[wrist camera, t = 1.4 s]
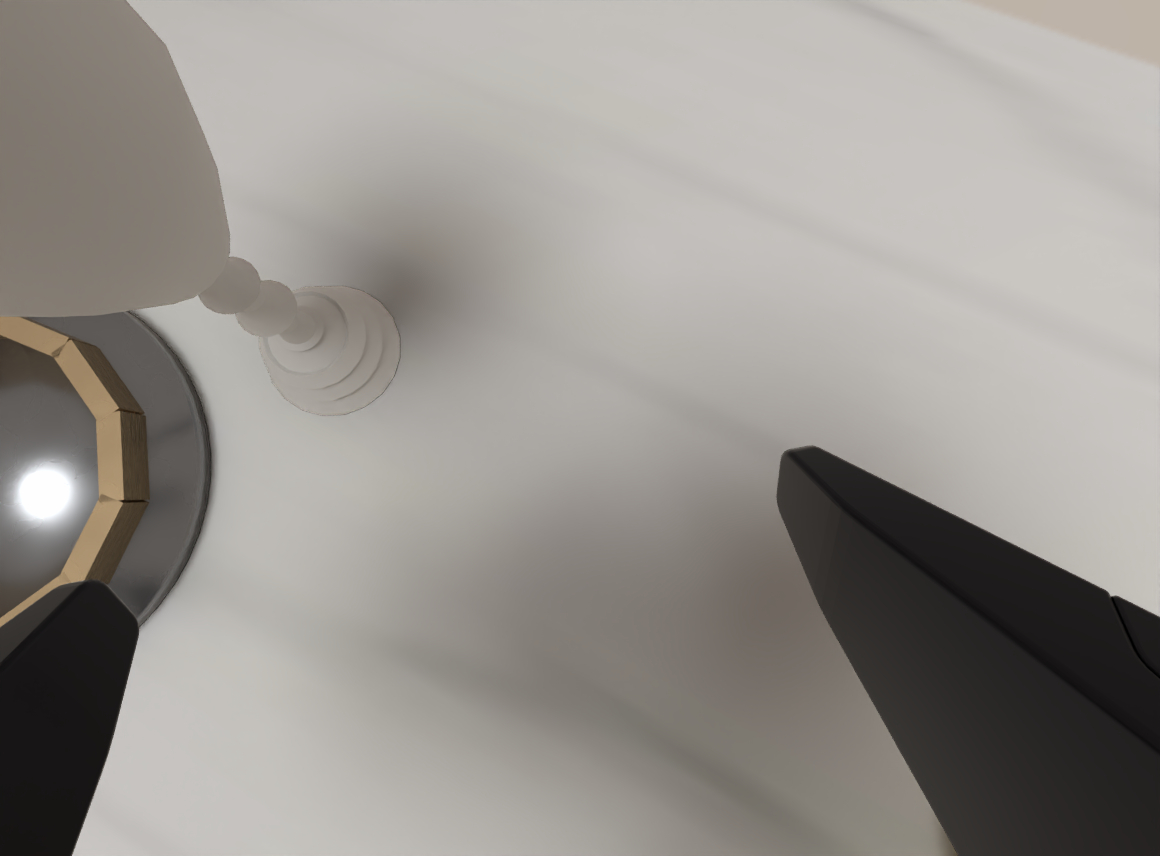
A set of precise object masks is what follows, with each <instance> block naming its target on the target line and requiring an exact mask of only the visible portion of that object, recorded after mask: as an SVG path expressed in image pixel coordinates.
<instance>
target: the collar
mask: <svg viewBox="0 0 1160 856" xmlns="http://www.w3.org/2000/svg"><path fill="white" fill-rule="evenodd" d="M209 485H210V446H209V438H208V430H207V425H206V421H205V418H204V414H203V410H202V407H201V403H200V400H199V398H198V396H197V393H196V391H195V389H194V386H193V384H192V382H191V379H190V378H189V376H188V374H187V373H186V371H185V370H184V368H183V366H182V365H181V363H180V361H179V360H178V358H177V357H176V356H175V354H174V353H173V352H172V351H171V350H170V348H169V347H168V346H167V345H166V343H165V342H164V341H163V340H162V339H161V338H160V337H159V336H158V335H157V334H156V333H155V332H154V331H153V330H151V329H150V328H149V327H148V326H147V325H146V324H145V323H144V322H142V321H141V320H139V319H138V318H137V317H135V316H134V315H132V314H131V313H129V312H128V311H124V312H117V313H110V314H104V315H95V316H69V317H4V316H0V627H1V626H2V625H4V624H5V623H7V622H8V621H9V620H11V619H12V618H13V617H15V616H16V615H18V614H19V613H20V612H22V611H23V610H25V609H26V608H27V607H29V606H30V605H32V604H33V603H34V602H36V601H37V600H39V599H40V598H41V597H43V596H44V595H46V594H47V593H48V592H50V591H51V590H53V589H54V588H56V587H58V586H60V585H64V584H67V583H73V582H78V581H83V580H89V579H97V580H100V581H102V582H104V583H105V584H107V585H108V586H109V587H110V589H111V590H112V591H113V592H114V593H115V594H116V595H117V596H118V597H119V598H120V600H121V601H122V602H123V603H124V604H125V605H126V606H127V607H128V608H129V609H130V611H131V612H132V613H133V614H134V615H135V617H136V618H137V621H138V624H139V626H140V625H141V624H142V623H143V622H144V621H145V620H146V619H147V618H148V617H149V616H150V615H151V614H152V613H153V612H154V610H155V609H156V608H157V607H158V606H159V604H160V603H161V602H162V600H163V599H164V598H165V596H166V595H167V594H168V592H169V591H170V589H171V588H172V587H173V585H174V584H175V582H176V580H177V579H178V577H179V575H180V573H181V572H182V570H183V568H184V566H185V564H186V563H187V561H188V559H189V557H190V554H191V552H192V549H193V547H194V545H195V542H196V540H197V537H198V535H199V532H200V529H201V525H202V521H203V517H204V514H205V510H206V506H207V499H208V492H209Z"/></svg>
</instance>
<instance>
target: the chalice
mask: <svg viewBox="0 0 1160 856" xmlns="http://www.w3.org/2000/svg"><path fill="white" fill-rule="evenodd" d="M229 254H230V232H229V226H228V221H227V216H226V211H225V206H224V200H223V195H222V190H221V185H220V179H219V174H218V169H217V166H216V164H215V161H214V159H213V156H212V153H211V151H210V148H209V146H208V143H207V141H206V138H205V135H204V133H203V131H202V128H201V126H200V124H199V121H198V119H197V117H196V114H195V112H194V110H193V107H192V105H191V103H190V100H189V98H188V96H187V93H186V91H185V88H184V86H183V84H182V81H181V79H180V77H179V74H178V72H177V70H176V67H175V65H174V63H173V60H172V58H171V56H170V53H169V51H168V49H167V46H166V45H165V44H164V42H163V41H162V40H161V39H160V38H159V37H158V36H157V35H156V33H155V32H154V31H153V30H152V29H151V28H150V27H149V26H148V25H147V23H146V22H145V21H144V20H143V19H142V18H141V17H140V16H139V14H138V13H137V12H136V11H135V10H134V9H133V8H132V7H131V6H130V4H129V3H128V2H127V1H126V0H0V316H4V317H69V316H95V315H104V314H110V313H117V312H124V311H130V310H137V309H143V308H150V307H157V306H163V305H170V304H175V303H178V302H181V301H184V300H187V299H191V298H194V297H195V296H197V295H199V298H200V300H201V301H202V303H203V304H204V305H205V306H206V307H207V308H209V309H210V310H212V311H214V312H217V313H221V314H234V313H235V315H236V318H237V320H238V323H239V324H240V325H241V327H242V328H243V329H244V330H245V331H247V332H249V333H250V334H252V335H255V336H259V349H260V352H261V355H262V358H263V361H264V363H265V365H266V367H267V370H268V373H269V374H270V377H271V380H272V383H273V384H274V386H275V387H276V388H277V389H278V391H279V392H280V393H281V394H282V396H283V397H284V398H285V399H286V400H287V401H289V402H290V403H292V404H294V405H295V406H297V407H298V408H300V409H301V410H303V411H307V412H311V413H315V414H319V415H322V416H326V415H345V414H347V413H350V412H353V411H355V410H358V409H361V408H363V407H365V406H367V405H368V404H369V403H371V402H372V401H373V400H375V399H376V398H377V397H378V396H380V395H381V394H382V393H383V392H384V390H385V389H386V387H387V386H388V384H389V383H390V382H391V380H392V379H393V377H394V375H395V372H396V369H397V365H398V362H399V359H400V336H399V333H398V330H397V328H396V325H395V322H394V320H393V317H392V316H391V315H390V314H389V312H388V311H387V310H386V309H385V307H384V306H383V305H382V304H381V303H380V302H379V301H378V300H376V299H375V298H373V297H371V296H370V295H368V294H367V293H365V292H364V291H360V290H357V289H353V288H349V287H345V286H327V287H321V286H317V287H303V288H300V289H297V290H295V291H292V292H291V290H290V289H289V288H288V287H287V286H285V285H283V284H282V283H280V282H276V281H272V280H267V281H260V277H259V275H258V272H257V270H256V269H255V268H254V267H253V265H252V264H250V263H249V262H247V261H245V260H244V259H241V258H237V257H228V256H229Z"/></svg>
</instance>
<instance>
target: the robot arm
mask: <svg viewBox="0 0 1160 856" xmlns="http://www.w3.org/2000/svg"><path fill="white" fill-rule="evenodd" d="M777 504H778V508H779V512H780V514H781V517H782V519H783V521H784V524H785V526H786V528H787V531H788V533H789V536H790V538H791V540H792V543H793V545H794V547H795V550H796V552H797V555H798V557H799V559H800V562H801V564H802V566H803V569H804V571H805V574H806V576H807V578H808V581H809V583H810V585H811V588H812V590H813V593H814V595H815V597H816V599H817V601H818V604H819V606H820V608H821V610H822V612H823V614H824V616H825V618H826V620H827V621H828V623H829V625H830V627H831V629H832V631H833V632H834V634H835V636H836V638H837V640H838V641H839V643H840V645H841V647H842V648H843V650H844V652H845V654H846V656H847V657H848V659H849V661H850V663H851V665H852V666H853V668H854V670H855V672H856V673H857V675H858V677H859V679H860V681H861V682H862V684H863V686H864V688H865V690H866V691H867V693H868V695H869V697H870V699H871V700H872V702H873V704H874V706H875V707H876V709H877V711H878V713H879V715H880V716H881V718H882V720H883V722H884V724H885V725H886V727H887V729H888V731H889V732H890V734H891V736H892V738H893V740H894V741H895V743H896V745H897V747H898V749H899V750H900V752H901V754H902V756H903V757H904V759H905V761H906V763H907V765H908V766H909V768H910V770H911V772H912V774H913V775H914V777H915V779H916V781H917V783H918V784H919V786H920V788H921V790H922V791H923V793H924V795H925V797H926V799H927V800H928V802H929V804H930V806H931V808H932V809H933V811H934V813H935V815H936V816H937V818H938V820H939V822H940V824H941V825H942V827H943V829H944V831H945V833H946V834H947V836H948V838H949V840H950V841H951V843H952V845H953V847H954V849H955V850H956V852H957V854H958V856H1160V617H1159V616H1157V615H1155V614H1153V613H1151V612H1149V611H1147V610H1145V609H1143V608H1141V607H1139V606H1137V605H1135V604H1133V603H1131V602H1129V601H1127V600H1125V599H1123V598H1121V597H1119V596H1110V594H1109V593H1108V592H1107V591H1106V590H1104V589H1102V588H1100V587H1098V586H1096V585H1094V584H1092V583H1090V582H1088V581H1086V580H1084V579H1082V578H1080V577H1078V576H1076V575H1074V574H1072V573H1070V572H1068V571H1066V570H1064V569H1062V568H1060V567H1058V566H1056V565H1054V564H1052V563H1050V562H1048V561H1046V560H1044V559H1042V558H1040V557H1038V556H1036V555H1034V554H1032V553H1030V552H1028V551H1026V550H1024V549H1022V548H1020V547H1018V546H1016V545H1014V544H1012V543H1010V542H1008V541H1006V540H1004V539H1002V538H1000V537H998V536H996V535H994V534H992V533H990V532H988V531H986V530H984V529H982V528H980V527H978V526H976V525H974V524H972V523H970V522H968V521H966V520H964V519H962V518H960V517H958V516H956V515H954V514H952V513H950V512H948V511H946V510H943V509H941V508H939V507H937V506H935V505H933V504H931V503H929V502H927V501H925V500H923V499H921V498H919V497H917V496H915V495H913V494H911V493H909V492H907V491H905V490H903V489H901V488H899V487H897V486H895V485H893V484H891V483H889V482H887V481H885V480H883V479H881V478H879V477H877V476H875V475H873V474H871V473H869V472H867V471H865V470H863V469H861V468H859V467H857V466H855V465H853V464H851V463H849V462H847V461H845V460H843V459H841V458H839V457H837V456H835V455H833V454H831V453H829V452H827V451H825V450H823V449H821V448H819V447H816V446H805V447H799V448H794V449H789V450H786V451H785V452H784V453H783V455H782V457H781V461H780V470H779V478H778V487H777ZM138 636H139V624H138V621H137V618H136V617H135V615H134V614H133V613H132V612H131V611H130V609H129V608H128V607H127V606H126V605H125V604H124V603H123V602H122V601H121V600H120V598H119V597H118V596H117V595H116V594H115V593H114V592H113V591H112V590H111V589H110V587H109V586H108V585H107V584H105V583H104V582H102V581H100V580H97V579H89V580H83V581H78V582H73V583H67V584H64V585H60V586H58V587H56V588H54V589H53V590H51V591H50V592H48V593H47V594H46V595H44V596H43V597H41V598H40V599H39V600H37V601H36V602H34V603H33V604H32V605H30V606H29V607H27V608H26V609H25V610H23V611H22V612H20V613H19V614H18V615H16V616H15V617H13V618H12V619H11V620H9V621H8V622H7V623H5V624H4V625H2V626H1V627H0V856H72V854H73V852H74V849H75V846H76V843H77V841H78V838H79V835H80V832H81V829H82V827H83V824H84V821H85V818H86V816H87V813H88V810H89V807H90V805H91V802H92V799H93V796H94V793H95V791H96V788H97V785H98V782H99V780H100V777H101V774H102V771H103V768H104V765H105V762H106V759H107V756H108V753H109V750H110V746H111V743H112V739H113V735H114V732H115V728H116V724H117V720H118V716H119V712H120V708H121V704H122V700H123V696H124V692H125V688H126V684H127V680H128V676H129V672H130V668H131V664H132V660H133V656H134V653H135V649H136V645H137V641H138Z"/></svg>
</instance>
